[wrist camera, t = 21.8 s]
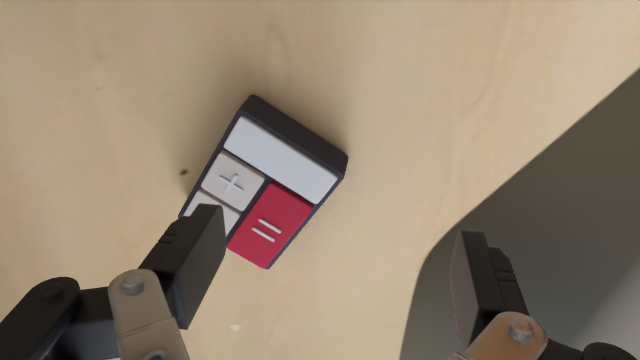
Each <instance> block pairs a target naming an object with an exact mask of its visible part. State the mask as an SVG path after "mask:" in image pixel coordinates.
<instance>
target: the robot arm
mask: <svg viewBox="0 0 640 360" xmlns="http://www.w3.org/2000/svg"><path fill="white" fill-rule="evenodd" d="M225 251H226V232H225V222H224V212H223V207H222V206H221V205H215V204H204V203H199V204H198V205H197V207H196V208H195V210H194V211H193V212H192V214H191V215H190V216H182V217H180V218H179V219H177V220H176V221H174V222H173V223H171V225H170V226H169V227H168V229H167V230H166V231H165V233H164V235H162V237H161V238H160V239H159V241H158V243H156V245H155V246H154V247H153V249H152V250H151V251H150V253H149V254H148V255H147V257H146V258H145V259H144V261H143V262H142V263H141V265H140V266H139V267H138V269H133V270H129V271H126V272H124V273H122V274H120V275H118V276H117V277H116V278H114V279H113V280H112V281H111V283H110V284H109V286H108V287H101V288H93V289H85V290H80V287H79V284H78V282H77V281H76V280H75V279H73V278H70V277H57V278H52V279H49V280H46V281H44V282H42V283H40V284H38V285H36V286H35V287H33V288H32V289H31V290H30V291H29V292H28V293H27V294H26V295H25V296H24V297H23V299H22V300H21V301H20V302H19V303H18V304H17V305H16V306H15V307H14V308H13V310H12V311H11V312H10V313H9V314H8V315H7V316H6V317H5V318H4V319H3V321H2V322H1V323H0V360H106V359H113V358H119V357H120V360H190V358H189V355H188V353H187V350H186V347H185V344H184V342H183V339H182V336H181V333H180V331H179V329H185V330H187V329H188V327H189V325H190V323H191V321H192V319H193V317H194V315H195V313H196V311H197V309H198V307H199V306H200V304H201V302H202V300H203V298H204V296H205V294H206V292H207V290H208V288H209V286H210V284H211V282H212V280H213V278H214V276H215V274H216V272H217V270H218V268H219V266H220V264H221V262H222V260H223V258H224V255H225ZM449 283H450V290H451V296H452V302H453V308H454V314H455V320H456V327H457V333H458V339H459V345H460V351H461V354H460V353H459V352H455V353H453V354H452V355H451V356H450V357H449V358H448V359H447V360H637V359H636V358H635V357H634V356H632V355H631V354H630V353H628V352H626V351H625V350H623V349H621V348H619V347H617V346H614V345H611V344H607V343H601V342H597V343H591V344H589V345H587V346H586V347H585V349H584V351H583V352H582V351H579V350H576V349H574V348H571V347H568V346H565V345H562V344H560V343H558V342H555V341H553V340H552V339H550V338H548V335H547V333H546V331H545V329H544V328H543V327H542V326H541V325H540V324H539V323H538V322H537V321H536V320H534V319H533V318H531V317H530V316H529V313H528V310H527V308H526V305H525V302H524V299H523V296H522V294H521V291H520V288H519V285H518V283H517V280H516V277H515V274H514V273H513V269H512V266H511V263H510V260H509V259H508V258H507V256H506V255H505V254H504V253H503V252H502V251H501V250H500V249H499V248H491V247H488V245H487V242H486V238H485V235H484V232H483V231H475V230H465V229H459V230H458V233H457V237H456V242H455V246H454V250H453V255H452V260H451V264H450V272H449Z"/></svg>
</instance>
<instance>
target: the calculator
mask: <svg viewBox="0 0 640 360" xmlns="http://www.w3.org/2000/svg"><path fill="white" fill-rule="evenodd" d="M347 163H348V156H347V155H346V154H344V153H343V152H341V151H340V150H338V149H337V148H335V147H333V146H332V145H330V144H329V143H327V142H326V141H324V140H323V139H321V138H320V137H318V136H317V135H315V134H313V133H312V132H310V131H309V130H307V129H306V128H304V127H303V126H301V125H300V124H298V123H296V122H295V121H293V120H292V119H290V118H289V117H287V116H286V115H284V114H283V113H281V112H280V111H278V110H276V109H275V108H273V107H272V106H270V105H269V104H267V103H266V102H264V101H263V100H261V99H259V98H258V97H256V96H254V95H251V96H249V98H248V99H247V100H246V101H245V102H244V104H243V105H242V106H241V107H240V108H239V110H238V111H237V113H236V114H235V116H234V118H233V120H232V121H231V123H230V125H229V127H228V128H227V130H226V132H225V134H224V135H223V137H222V139H221V141H220V142H219V144H218V146H217V148H216V149H215V151H214V153H213V155H212V157H211V158H210V160H209V162H208V164H207V165H206V167H205V169H204V171H203V172H202V174H201V176H200V178H199V179H198V181H197V183H196V185H195V186H194V188H193V190H192V192H191V193H190V195H189V197H188V199H187V200H186V202H185V204H184V206H183V207H182V209H181V211H180V213H179V215H178V218H180V217H182V216H190V215H191V214H192V212H193V211H194V210H195V208H196V207H197V205H198V204H199V203H204V204H215V205H221V206H222V207H223V212H224V222H225V232H226V247H227V248H228V249H230V250H231V251H233V252H235V253H237V254H238V255H240V256H242V257H243V258H245V259H247V260H249V261H250V262H252V263H254V264H256V265H257V266H259V267H261V268H263V269H269V268H270V267H271V266H272V265H273V264H274V263H275V261H276V260H277V259H278V258H279V256H280V255H281V254H282V253H283V252H284V250H285V249H286V248H287V247H288V245H289V244H290V243H291V242H292V241H293V239H294V238H295V237H296V236H297V235H298V233H299V232H300V231H301V230H302V228H303V227H304V226H305V225H306V224H307V222H308V221H309V220H310V219H311V217H312V216H313V215H314V214H315V213H316V211H317V210H318V209H319V208H320V206H321V205H322V204H323V203H324V202H325V200H326V199H327V198H328V197H329V195H330V194H331V193H332V192H333V191H334V189H335V188H336V187H337V186H338V185H339V183H340V182H341V181H342V180H343V178H344V175H345V171H346V167H347Z"/></svg>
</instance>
